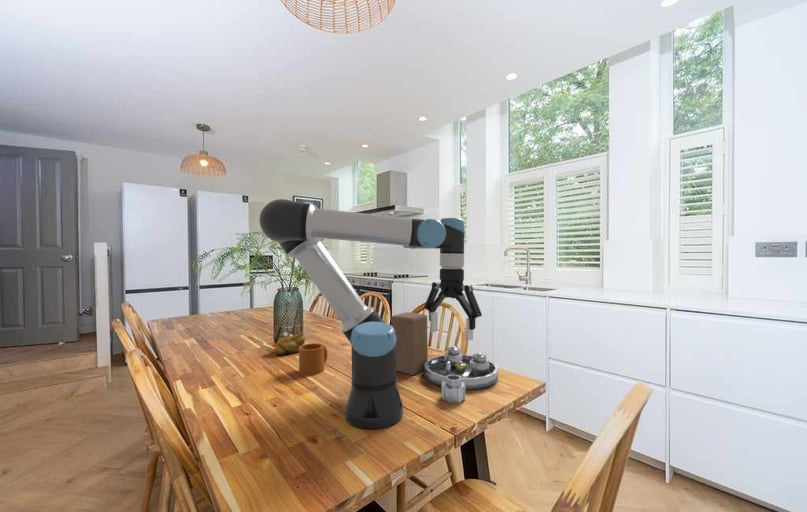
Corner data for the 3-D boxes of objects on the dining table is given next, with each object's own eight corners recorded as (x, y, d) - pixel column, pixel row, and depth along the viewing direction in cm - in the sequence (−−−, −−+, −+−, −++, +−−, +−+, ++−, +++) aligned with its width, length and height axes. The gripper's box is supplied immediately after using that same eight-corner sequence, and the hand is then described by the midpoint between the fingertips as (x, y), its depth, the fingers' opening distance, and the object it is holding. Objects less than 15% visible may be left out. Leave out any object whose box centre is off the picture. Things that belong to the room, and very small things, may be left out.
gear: (455, 405, 93) (455, 384, 93) (437, 397, 98) (436, 377, 98) (470, 397, 98) (469, 377, 98) (451, 390, 103) (451, 371, 103)
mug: (336, 368, 124) (336, 344, 124) (307, 377, 116) (307, 352, 115) (322, 362, 131) (322, 339, 130) (294, 371, 122) (294, 346, 121)
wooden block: (413, 376, 115) (412, 318, 115) (390, 370, 121) (389, 315, 121) (428, 368, 123) (428, 314, 123) (407, 363, 129) (406, 311, 129)
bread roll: (277, 358, 137) (277, 338, 137) (269, 353, 144) (269, 334, 144) (307, 352, 145) (306, 333, 145) (298, 347, 153) (297, 329, 152)
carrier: (468, 397, 98) (467, 370, 98) (409, 375, 116) (409, 352, 116) (512, 375, 115) (512, 352, 115) (454, 358, 133) (454, 338, 133)
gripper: (494, 269, 98) (492, 341, 99) (428, 266, 116) (428, 327, 116) (480, 270, 93) (479, 346, 93) (414, 266, 110) (413, 330, 111)
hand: (450, 335), depth 105 cm, fingers open, 13 cm apart
